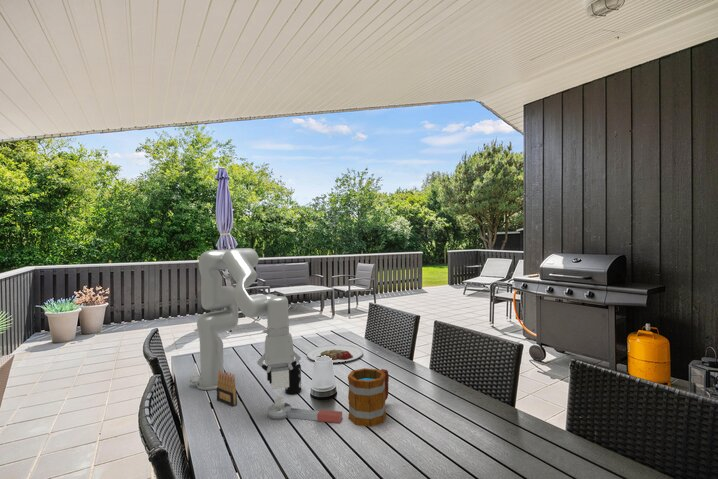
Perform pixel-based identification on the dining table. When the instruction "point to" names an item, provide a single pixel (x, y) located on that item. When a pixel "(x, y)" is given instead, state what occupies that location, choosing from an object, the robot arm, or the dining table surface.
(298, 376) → the beverage can
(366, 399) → the mug
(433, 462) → the dining table surface
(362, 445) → the dining table surface
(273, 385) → the brushed metal block
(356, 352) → the plated food
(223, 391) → the ammunition clip
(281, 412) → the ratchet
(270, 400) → the dining table surface
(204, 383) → the robot arm
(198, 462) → the dining table surface
